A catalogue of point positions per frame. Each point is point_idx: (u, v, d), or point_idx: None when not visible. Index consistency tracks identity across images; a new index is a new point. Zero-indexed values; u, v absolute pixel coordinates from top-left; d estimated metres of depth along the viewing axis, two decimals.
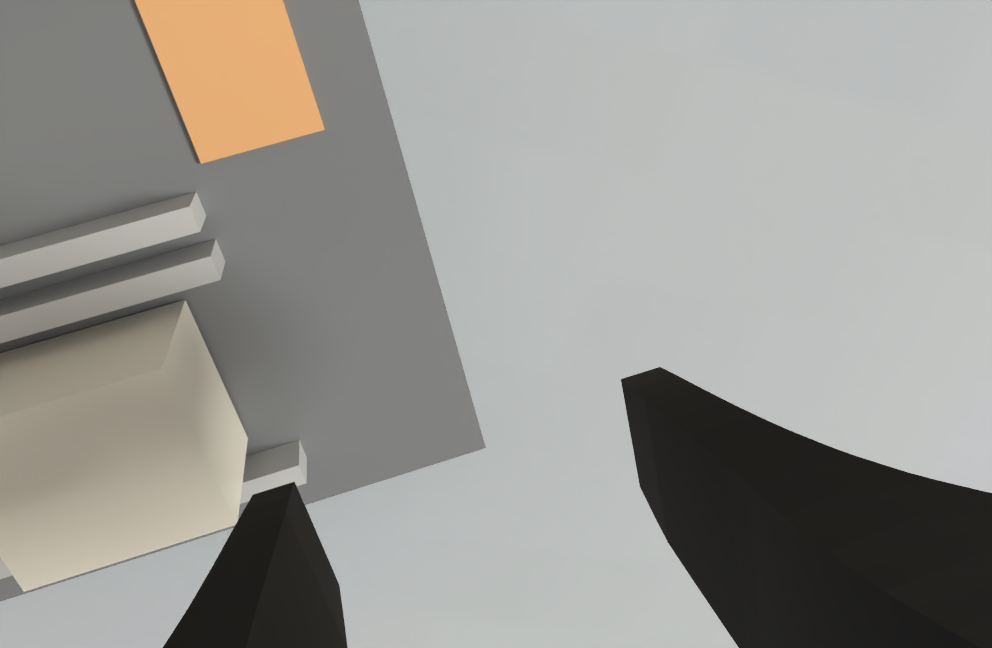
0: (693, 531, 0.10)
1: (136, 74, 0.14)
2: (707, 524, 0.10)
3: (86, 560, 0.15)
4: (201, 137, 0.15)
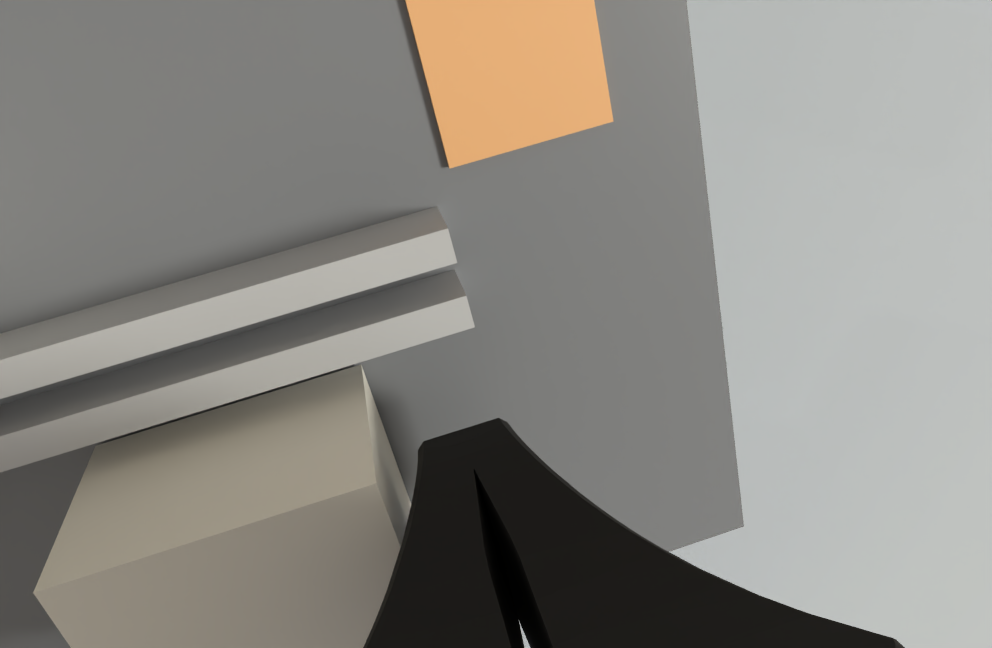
0: (514, 591, 0.10)
1: (377, 44, 0.10)
2: (517, 587, 0.10)
3: None
4: (453, 131, 0.11)
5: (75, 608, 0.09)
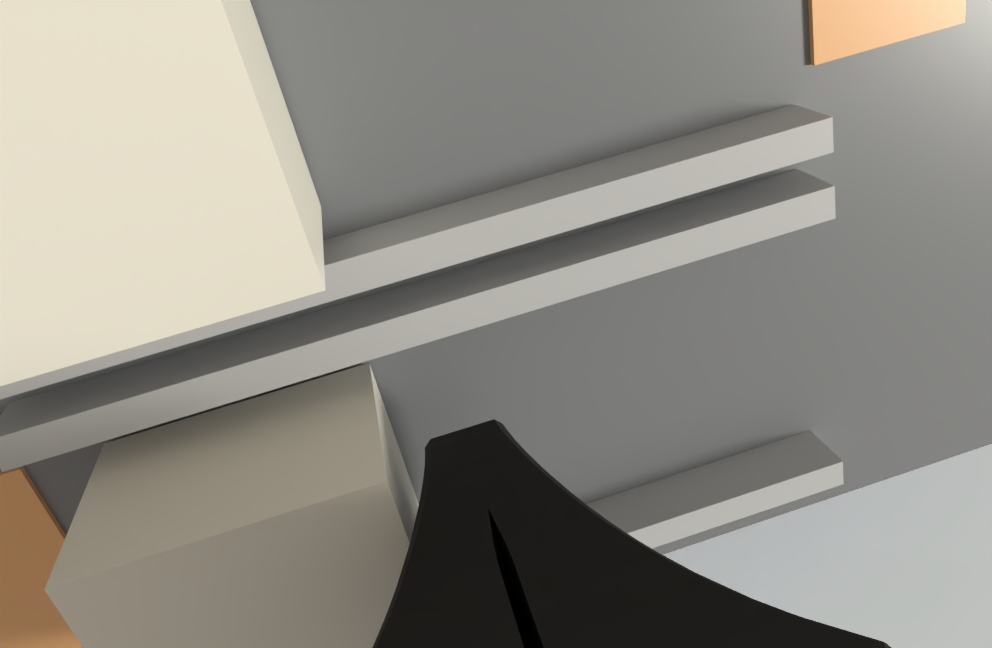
0: None
1: None
2: (511, 589, 0.10)
3: None
4: (825, 28, 0.11)
5: (86, 605, 0.09)
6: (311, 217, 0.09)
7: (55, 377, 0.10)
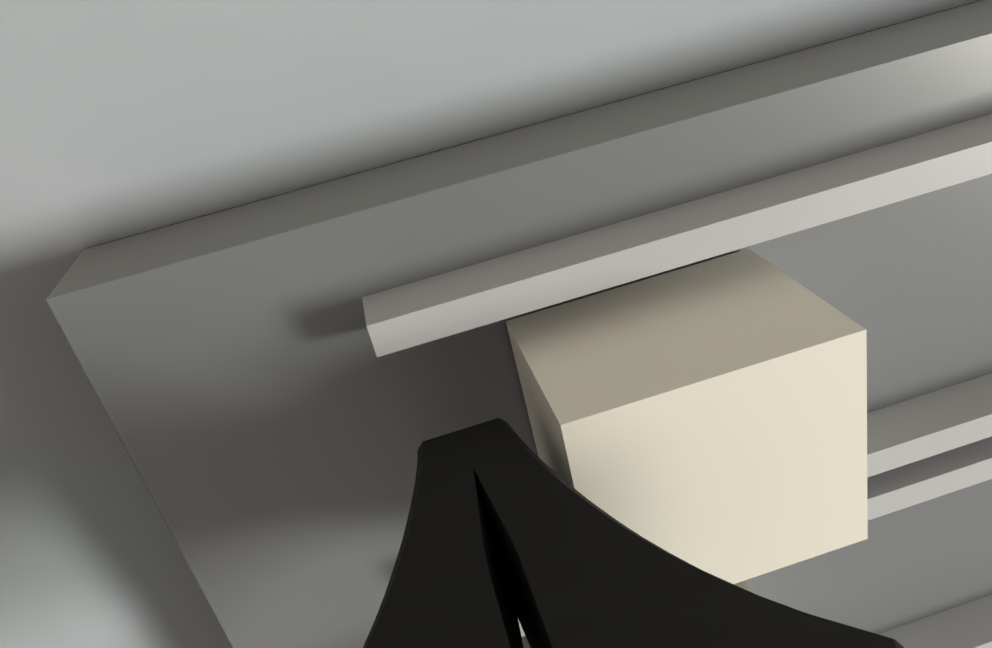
0: (514, 591, 0.10)
1: None
2: (517, 587, 0.10)
3: None
4: None
5: None
6: None
7: None
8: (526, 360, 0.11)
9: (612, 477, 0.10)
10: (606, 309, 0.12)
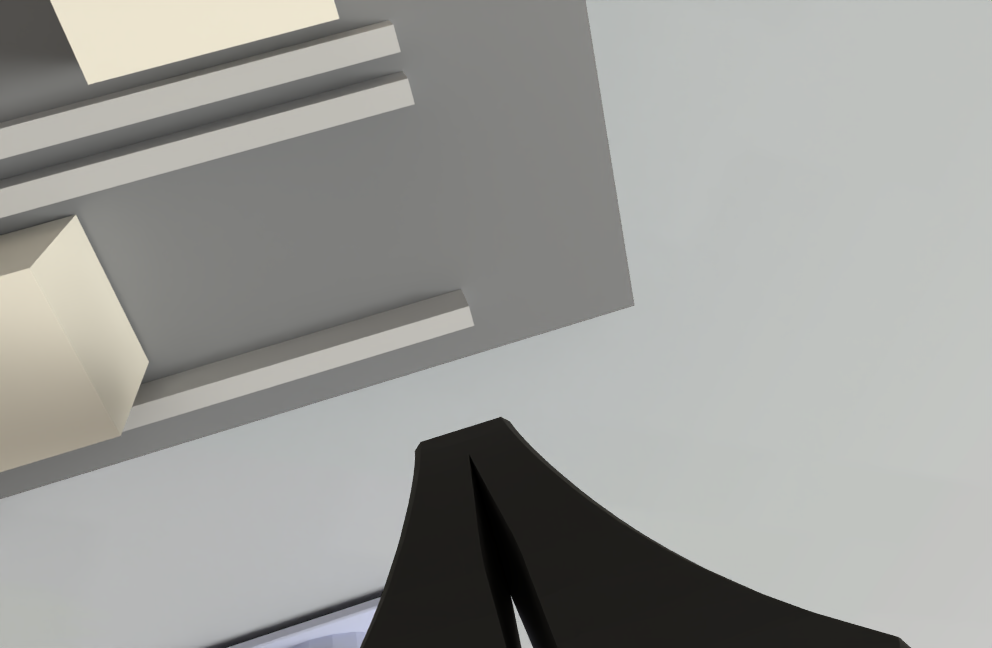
0: (516, 590, 0.10)
1: None
2: (520, 587, 0.10)
3: None
4: None
5: None
6: None
7: None
8: None
9: None
10: None
